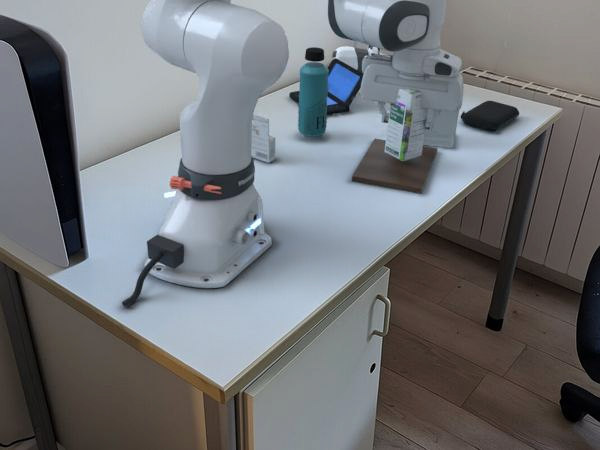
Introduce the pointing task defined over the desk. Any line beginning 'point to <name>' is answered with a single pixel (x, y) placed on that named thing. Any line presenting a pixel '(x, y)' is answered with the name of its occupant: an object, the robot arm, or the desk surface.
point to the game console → (339, 87)
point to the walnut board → (394, 169)
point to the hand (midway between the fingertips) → (407, 125)
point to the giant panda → (353, 55)
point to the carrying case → (490, 116)
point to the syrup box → (406, 126)
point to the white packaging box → (442, 129)
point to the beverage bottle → (313, 94)
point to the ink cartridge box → (262, 140)
